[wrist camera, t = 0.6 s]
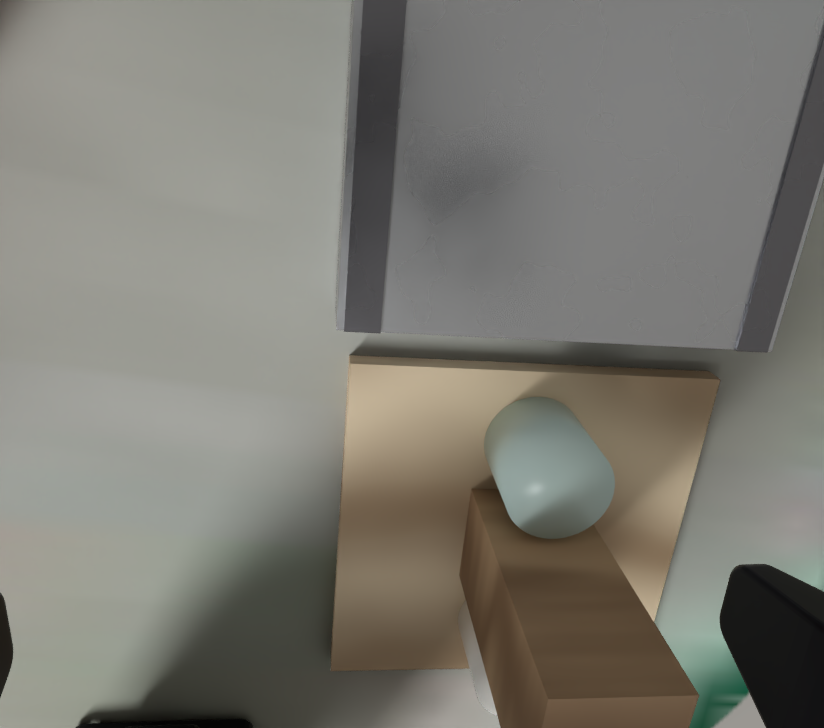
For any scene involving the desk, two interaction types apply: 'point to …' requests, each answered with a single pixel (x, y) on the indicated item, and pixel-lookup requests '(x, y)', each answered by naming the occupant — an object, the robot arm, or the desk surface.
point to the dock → (580, 168)
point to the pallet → (449, 456)
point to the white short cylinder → (475, 660)
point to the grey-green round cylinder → (547, 468)
